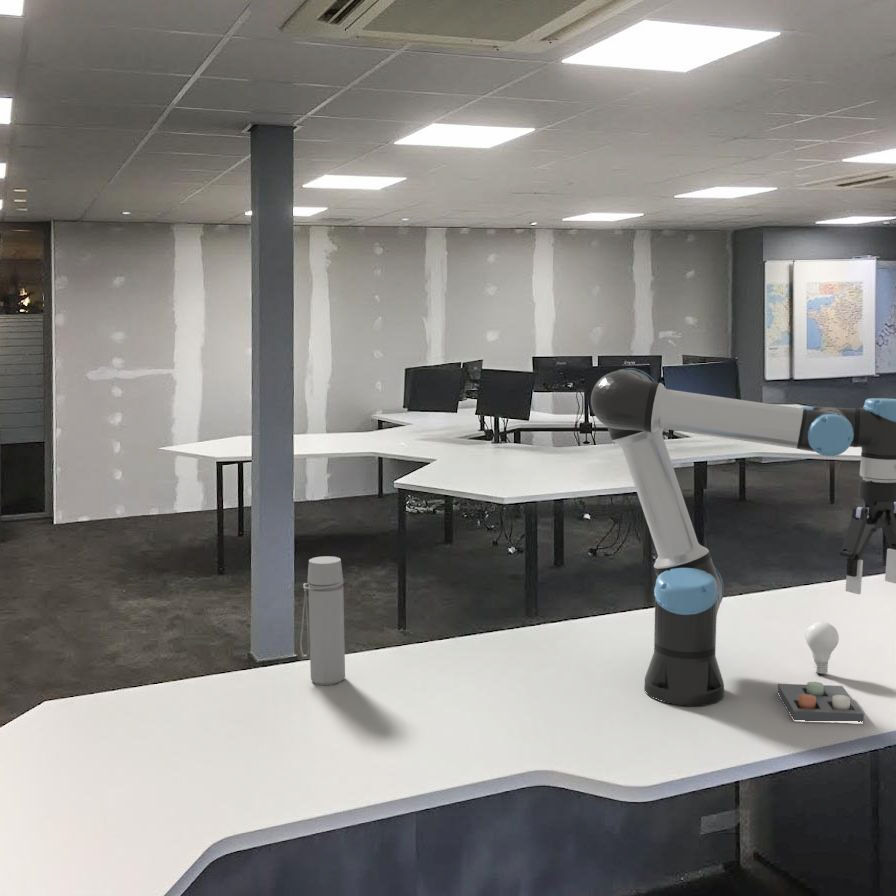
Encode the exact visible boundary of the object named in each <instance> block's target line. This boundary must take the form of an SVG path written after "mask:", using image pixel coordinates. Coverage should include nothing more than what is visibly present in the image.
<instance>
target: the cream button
mask: <svg viewBox="0 0 896 896" xmlns="http://www.w3.org/2000/svg"><path fill="white" fill-rule="evenodd" d="M832 709H833V710H850V698H849V697H847V696H844V695H834V696H833V697H832Z"/></svg>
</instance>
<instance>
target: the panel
mask: <svg viewBox="0 0 896 896" xmlns="http://www.w3.org/2000/svg"><path fill="white" fill-rule="evenodd" d="M823 685H824V695H823V696H815V697H816V709H803V708H798V698H799V695H800V694H807V684H799V683H798V684H797V683H795V684H793V683H777V694H778V693H779V695H780V697H781V699H782V700H781V699H780V700H781V702H782V701H783V702H784V704H785V705H784V704H783V705H784V707H785V706H786V707H787V709H788V711H789V712H790V714H791V716H792V717H793V719H794V720H805V721H858V722H860V721H861V722H862V721H863V722H864V720H865V719H864V716H865V714H864V712H863V711H862V709H860V707H859V706H858V705H857V703H856V701H854V700H853V698H852V696H851V695H850V694H849V692H848V691H847V690H846V689H845V687H844V686H843V685H828V684H826V685H825V684H823ZM779 695H778V696H779ZM834 695H844V696H847V697H849V698H850V710H833V709H832V697H833V696H834ZM780 697H779V698H780ZM783 702H782V703H783ZM786 707H785V708H786ZM787 709H786V710H787ZM788 711H787V712H788ZM789 712H788V713H789ZM790 714H789V715H790ZM791 716H790V717H791ZM793 719H792V720H793Z"/></svg>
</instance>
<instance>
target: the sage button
mask: <svg viewBox="0 0 896 896" xmlns="http://www.w3.org/2000/svg"><path fill="white" fill-rule="evenodd" d="M806 685H807V694H811V695H814V696H823V695H824V685H825V684H823V683H821V682H817V681H809V682H807V683H806Z"/></svg>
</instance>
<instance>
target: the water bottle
mask: <svg viewBox="0 0 896 896" xmlns="http://www.w3.org/2000/svg"><path fill="white" fill-rule="evenodd" d="M343 576H344V575H343V567H342V560H341V558H340V557H337V556H329V555H328V556H327V555H326V556H325V555H324V556H317V557H316V556H315V557H312V558H310V559H308V570H307V583H306V582H304V583H303V584H302V587H303V592H304V596H303V606H302V617H301V618H302V619H301V629H300V640H299V646H300V647H299V648H300V654H301V657H303V658H306V657H308V655H309V654H310V655H309V656H310V658H309V660H310V664H309V666H310V680H311V681H312V683H315V684H317V685H322V686H323V685H324V686H328V685H330V686H331V685H334V684H335V685H336V684H339V683H341V682H342V681H343V680H344V679H345V678H346V657H345V655H346V654H345V653H346V651H345V649H346V648H345V612H344V611H345V608H344V607H345V606H344V604H345V603H344V602H345V601H344V581H345V580H344V577H343ZM307 591H308V597H307ZM305 614H306V616H304V615H305ZM304 617H306V635H307V636H306V637H307V653H306V654H304V652H303V644H302V641H303V629H304V619H305V618H304Z"/></svg>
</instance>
